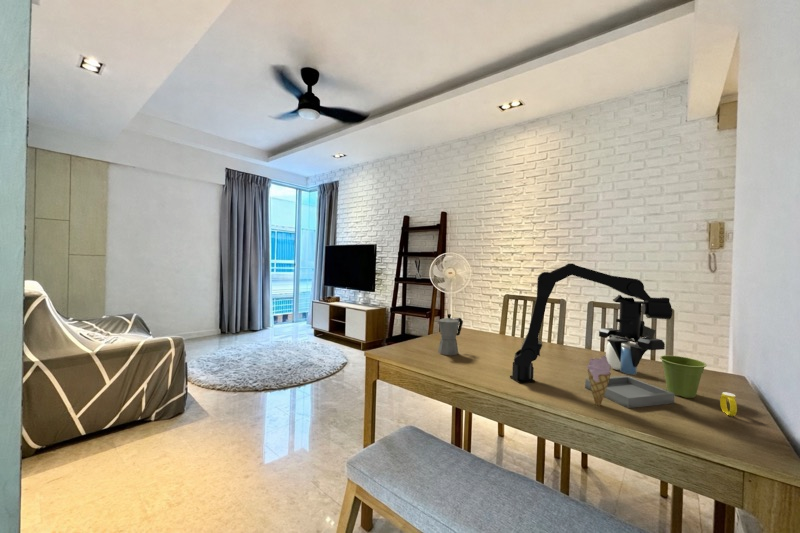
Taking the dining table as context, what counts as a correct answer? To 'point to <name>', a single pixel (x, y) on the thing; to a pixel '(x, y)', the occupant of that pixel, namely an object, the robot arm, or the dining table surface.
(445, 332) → the coffeepot
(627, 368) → the cylinder
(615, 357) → the white vase
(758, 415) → the dining table surface
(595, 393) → the ice cream cone
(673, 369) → the plant pot
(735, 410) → the watch
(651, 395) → the tray
